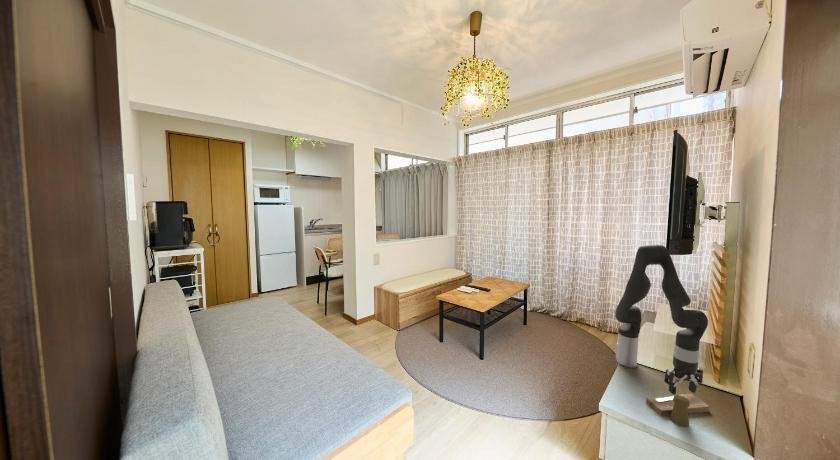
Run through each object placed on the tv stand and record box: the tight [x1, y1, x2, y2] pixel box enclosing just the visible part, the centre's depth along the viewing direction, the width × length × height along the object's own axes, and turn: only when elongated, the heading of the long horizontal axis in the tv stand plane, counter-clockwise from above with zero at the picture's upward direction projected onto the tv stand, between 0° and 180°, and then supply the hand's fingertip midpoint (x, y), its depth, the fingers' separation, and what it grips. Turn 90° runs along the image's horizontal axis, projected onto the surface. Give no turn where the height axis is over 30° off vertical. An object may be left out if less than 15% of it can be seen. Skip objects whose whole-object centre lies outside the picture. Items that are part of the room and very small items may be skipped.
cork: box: [669, 394, 690, 428], centre depth 121 cm, size 6×6×11 cm
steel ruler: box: [655, 394, 685, 402], centre depth 131 cm, size 2×14×1 cm, turn 97°
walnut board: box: [645, 393, 710, 417], centre depth 129 cm, size 8×22×3 cm, turn 93°
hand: (682, 392), depth 120 cm, fingers open, 8 cm apart
